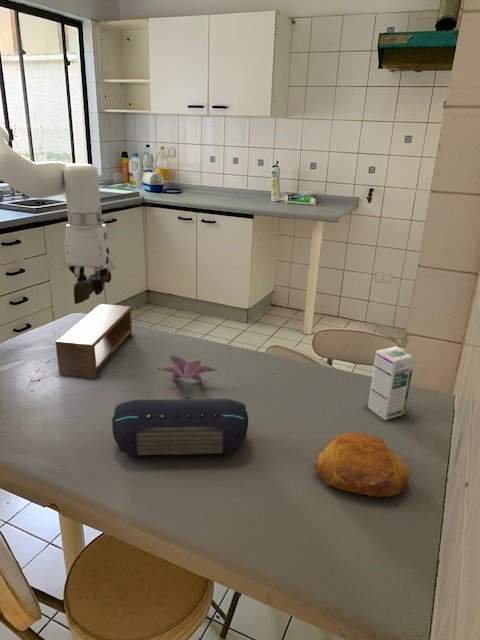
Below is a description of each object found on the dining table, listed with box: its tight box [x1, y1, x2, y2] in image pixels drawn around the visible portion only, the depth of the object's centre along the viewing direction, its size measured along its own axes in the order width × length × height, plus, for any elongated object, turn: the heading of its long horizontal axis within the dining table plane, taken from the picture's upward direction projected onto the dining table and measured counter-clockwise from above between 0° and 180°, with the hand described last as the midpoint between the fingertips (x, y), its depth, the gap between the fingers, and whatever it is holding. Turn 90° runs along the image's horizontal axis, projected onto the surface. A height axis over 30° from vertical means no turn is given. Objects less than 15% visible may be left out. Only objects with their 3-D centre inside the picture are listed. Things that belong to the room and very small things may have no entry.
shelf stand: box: [54, 303, 133, 380], centre depth 121 cm, size 9×26×9 cm, turn 173°
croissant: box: [314, 431, 410, 498], centre depth 82 cm, size 14×16×8 cm
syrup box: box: [367, 345, 416, 421], centre depth 100 cm, size 6×6×14 cm
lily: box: [159, 354, 218, 399], centre depth 106 cm, size 12×12×10 cm
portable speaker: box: [111, 398, 249, 456], centre depth 86 cm, size 25×10×10 cm, turn 95°
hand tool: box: [73, 271, 112, 305], centre depth 115 cm, size 19×4×5 cm, turn 172°
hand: (91, 291), depth 116 cm, fingers closed on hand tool, 3 cm apart
